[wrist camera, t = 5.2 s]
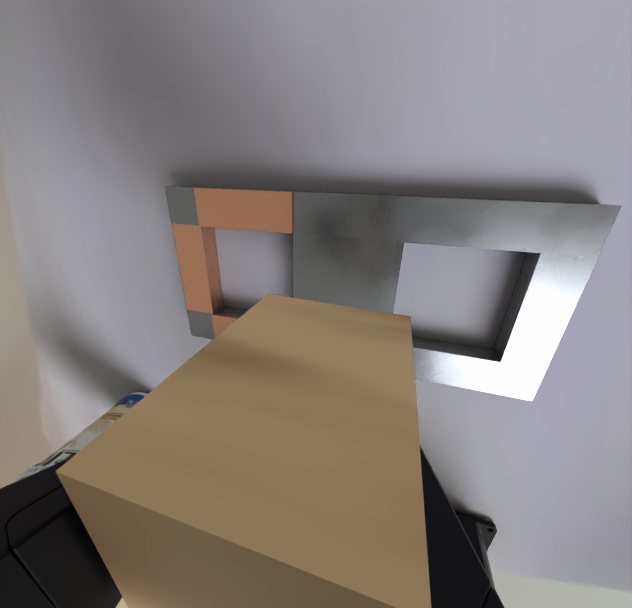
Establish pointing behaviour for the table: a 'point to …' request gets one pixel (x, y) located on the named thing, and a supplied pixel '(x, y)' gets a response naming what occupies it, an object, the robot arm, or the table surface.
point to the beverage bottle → (86, 434)
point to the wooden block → (268, 470)
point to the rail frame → (385, 259)
